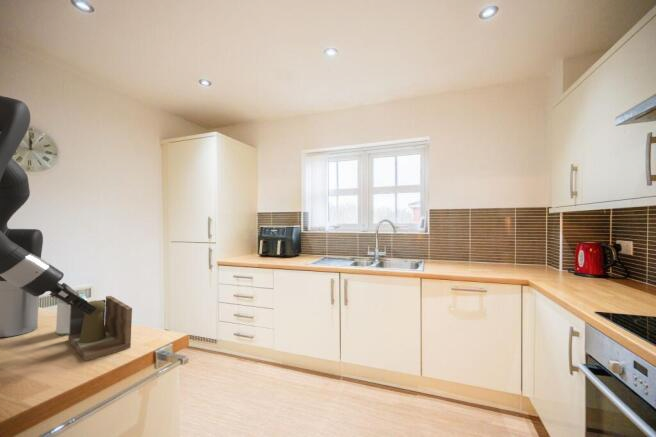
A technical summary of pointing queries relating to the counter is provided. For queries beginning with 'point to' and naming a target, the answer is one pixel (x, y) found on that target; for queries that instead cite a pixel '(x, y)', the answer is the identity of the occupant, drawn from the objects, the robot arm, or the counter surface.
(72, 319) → the shelf
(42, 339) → the counter surface
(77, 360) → the counter surface
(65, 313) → the can
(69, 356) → the counter surface
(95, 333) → the cork
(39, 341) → the counter surface
